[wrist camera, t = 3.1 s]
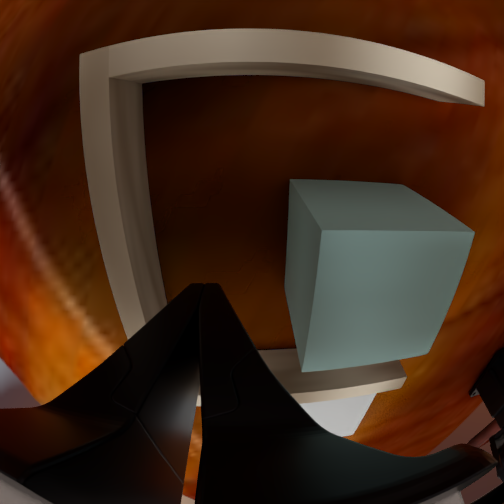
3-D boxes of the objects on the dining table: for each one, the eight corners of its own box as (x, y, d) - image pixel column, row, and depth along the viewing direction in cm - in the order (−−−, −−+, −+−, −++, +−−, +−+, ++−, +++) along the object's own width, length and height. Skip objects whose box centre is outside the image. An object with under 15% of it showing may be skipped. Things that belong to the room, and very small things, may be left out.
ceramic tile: (379, 361, 16) (385, 375, 15) (349, 422, 20) (353, 434, 19) (216, 373, 16) (216, 389, 15) (226, 432, 20) (226, 445, 19)
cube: (401, 184, 11) (474, 232, 7) (382, 282, 13) (427, 353, 9) (289, 178, 11) (321, 230, 7) (283, 287, 13) (301, 372, 9)
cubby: (438, 80, 9) (484, 80, 6) (383, 350, 16) (400, 387, 13) (117, 64, 8) (79, 54, 6) (163, 360, 15) (153, 402, 13)
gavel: (481, 452, 31) (447, 469, 30) (475, 435, 35) (441, 449, 34) (554, 388, 20) (528, 406, 19) (543, 368, 24) (516, 382, 23)
